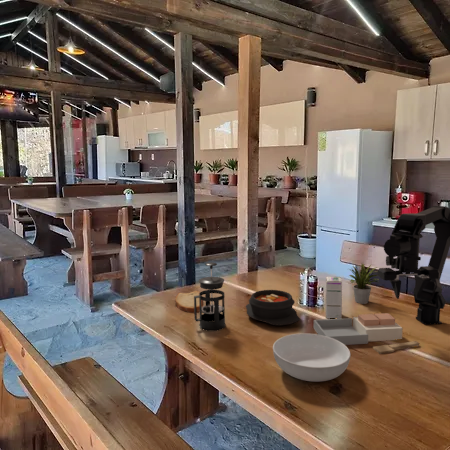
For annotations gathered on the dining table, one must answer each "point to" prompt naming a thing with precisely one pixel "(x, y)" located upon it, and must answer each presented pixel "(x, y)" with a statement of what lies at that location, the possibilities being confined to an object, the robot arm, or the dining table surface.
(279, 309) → the casserole
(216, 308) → the french press
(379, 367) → the dining table surface
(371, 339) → the white flat box
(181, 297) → the bread slice
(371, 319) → the tile
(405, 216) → the robot arm
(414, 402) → the dining table surface
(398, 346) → the wooden spatula
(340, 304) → the syrup box
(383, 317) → the tile
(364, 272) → the house plant
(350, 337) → the tray
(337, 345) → the serving bowl
